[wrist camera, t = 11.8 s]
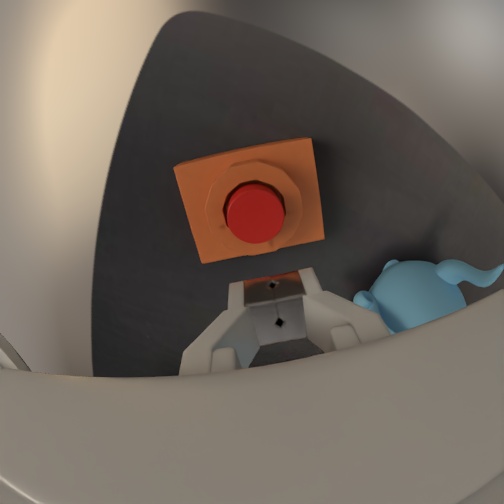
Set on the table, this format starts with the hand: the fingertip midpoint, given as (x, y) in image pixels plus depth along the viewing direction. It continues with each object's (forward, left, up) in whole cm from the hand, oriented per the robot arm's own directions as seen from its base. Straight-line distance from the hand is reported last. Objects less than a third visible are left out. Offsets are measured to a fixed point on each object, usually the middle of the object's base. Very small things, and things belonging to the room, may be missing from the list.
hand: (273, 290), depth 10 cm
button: (0, 0, -10) cm, 10 cm away
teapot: (+14, -13, -13) cm, 23 cm away
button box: (0, 0, -13) cm, 13 cm away
